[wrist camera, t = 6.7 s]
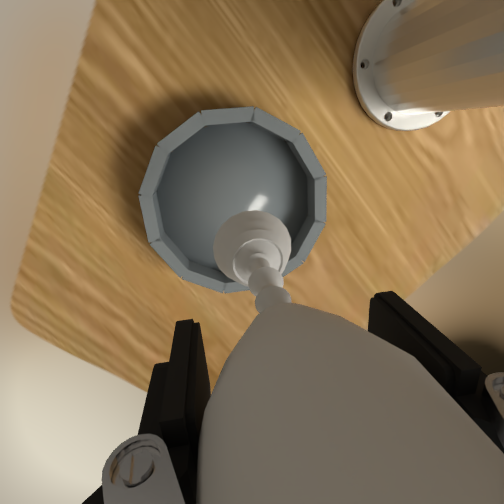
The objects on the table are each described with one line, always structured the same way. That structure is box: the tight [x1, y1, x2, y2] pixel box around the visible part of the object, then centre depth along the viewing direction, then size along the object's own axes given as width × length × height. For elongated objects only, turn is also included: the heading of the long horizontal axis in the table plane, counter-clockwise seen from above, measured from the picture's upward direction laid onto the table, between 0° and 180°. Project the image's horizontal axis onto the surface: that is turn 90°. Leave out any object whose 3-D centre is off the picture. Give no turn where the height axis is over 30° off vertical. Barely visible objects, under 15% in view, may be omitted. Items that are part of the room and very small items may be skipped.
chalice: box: [196, 210, 504, 504], centre depth 11 cm, size 7×7×18 cm
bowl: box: [139, 106, 327, 293], centre depth 32 cm, size 18×18×4 cm
